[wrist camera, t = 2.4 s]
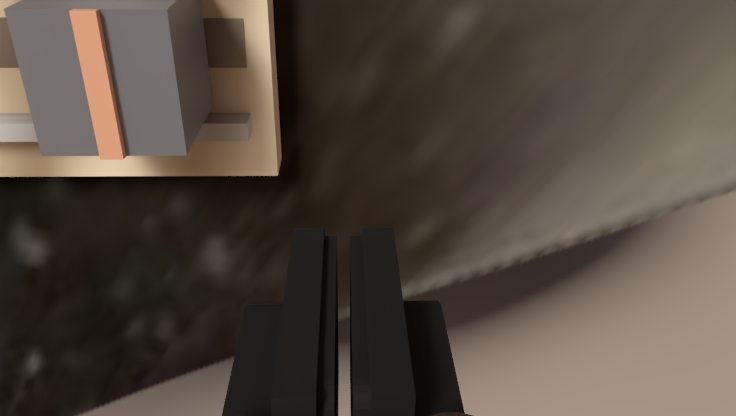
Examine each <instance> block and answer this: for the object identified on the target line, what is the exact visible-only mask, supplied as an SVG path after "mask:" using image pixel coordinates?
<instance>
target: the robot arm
mask: <svg viewBox="0 0 736 416" xmlns="http://www.w3.org/2000/svg"><path fill="white" fill-rule="evenodd" d="M350 383H351V416H472V415H468V414H465V413H464V409H463V404H462V400H461V395H460V390H459V386H458V381H457V377H456V372H455V367H454V363H453V358H452V353H451V349H450V344H449V339H448V335H447V330H446V326H445V321H444V317H443V312H442V308H441V304H440V302H439V301H403V297H402V290H401V282H400V275H399V267H398V260H397V252H396V245H395V237H394V230H393V228H362V236H350ZM222 416H338V287H337V236H325V228H294V229H293V234H292V241H291V249H290V256H289V264H288V272H287V279H286V287H285V294H284V302H271V303H247V305H246V308H245V311H244V316H243V320H242V325H241V330H240V334H239V339H238V343H237V348H236V353H235V357H234V362H233V367H232V371H231V376H230V381H229V385H228V390H227V395H226V399H225V405H224V409H223V413H222Z"/></svg>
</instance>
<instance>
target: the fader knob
mask: <svg viewBox="0 0 736 416" xmlns="http://www.w3.org/2000/svg"><path fill="white" fill-rule="evenodd" d="M4 11H5V15H6V19H7V23H8V27H9V31H10V35H11V39H12V43H13V46H14V50H15V54H16V58H17V62H18V66H19V70H20V74H21V78H22V81H23V85H24V89H25V93H26V97H27V101H28V105H29V109H30V113H31V117H32V120H33V124H34V128H35V132H36V136H37V140H38V144H39V148H40V152H41V155H42V156H99V157H100V160H122V159H124V158H125V157H126V156H187V155H188V153H189V151H190V149H191V147H192V145H193V143H194V141H195V139H196V137H197V135H198V133H199V131H200V129H201V127H202V125H203V123H204V121H205V119H206V117H207V116H208V114H209V112H210V110H211V108H212V106H213V103H212V94H211V85H210V76H209V67H208V58H207V49H206V40H205V31H204V22H203V13H202V4H201V0H21V1H19V2H17V3H15V4H13V5H11V6H8V7H6V8H4Z"/></svg>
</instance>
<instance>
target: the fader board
mask: <svg viewBox="0 0 736 416" xmlns="http://www.w3.org/2000/svg"><path fill="white" fill-rule="evenodd" d="M19 1H21V0H0V177H95V176H278V173H279V168H280V163H281V158H282V154H281V136H280V119H279V102H278V85H277V67H276V50H275V33H274V16H273V0H201V4H202V13H203V22H204V31H205V40H206V49H207V58H208V67H209V76H210V85H211V94H212V103H213V106H212V108H211V110H210V112H209V114H208V116H207V117H206V119H205V121H204V123H203V125H202V127H201V129H200V131H199V133H198V135H197V137H196V139H195V141H194V143H193V145H192V147H191V149H190V151H189V153H188V155H187V156H126V157H125V158H124V159H122V160H100V157H99V156H42V155H41V152H40V148H39V144H38V140H37V136H36V132H35V128H34V124H33V120H32V117H31V113H30V109H29V105H28V101H27V97H26V93H25V89H24V85H23V81H22V78H21V74H20V70H19V66H18V62H17V58H16V54H15V50H14V46H13V43H12V39H11V35H10V31H9V27H8V23H7V19H6V15H5V11H4V8H6V7H8V6H11V5H13V4H15V3H17V2H19Z"/></svg>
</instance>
